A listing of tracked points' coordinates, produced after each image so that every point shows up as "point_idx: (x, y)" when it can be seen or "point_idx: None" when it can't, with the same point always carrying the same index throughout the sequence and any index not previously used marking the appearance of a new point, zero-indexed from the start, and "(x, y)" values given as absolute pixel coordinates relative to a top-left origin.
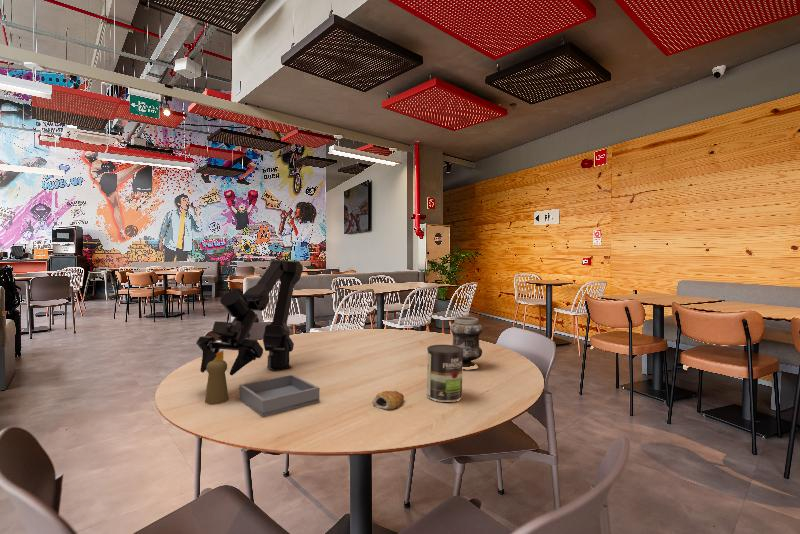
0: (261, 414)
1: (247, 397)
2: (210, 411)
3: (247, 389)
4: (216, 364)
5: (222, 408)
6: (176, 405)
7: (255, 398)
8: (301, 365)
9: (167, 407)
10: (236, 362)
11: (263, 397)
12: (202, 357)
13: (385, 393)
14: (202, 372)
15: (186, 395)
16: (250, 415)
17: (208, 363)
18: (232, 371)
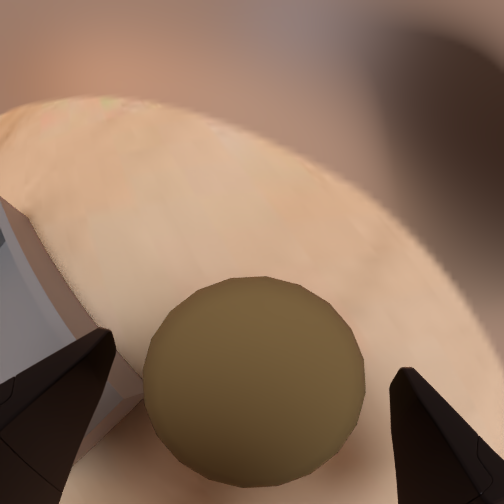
0: (28, 222)
1: (70, 308)
2: (208, 234)
3: (55, 319)
4: (204, 295)
5: (173, 272)
6: (392, 276)
7: (20, 238)
8: None
9: (407, 251)
10: (25, 375)
11: None
12: (487, 445)
13: None
14: (393, 381)
15: None
16: (58, 223)
17: (334, 321)
18: (85, 340)
